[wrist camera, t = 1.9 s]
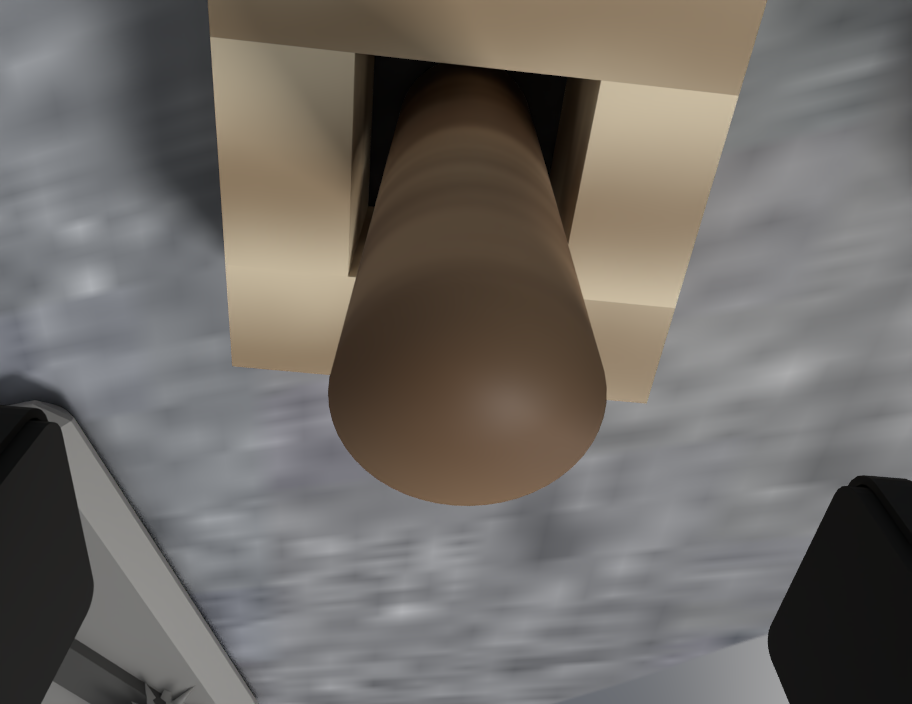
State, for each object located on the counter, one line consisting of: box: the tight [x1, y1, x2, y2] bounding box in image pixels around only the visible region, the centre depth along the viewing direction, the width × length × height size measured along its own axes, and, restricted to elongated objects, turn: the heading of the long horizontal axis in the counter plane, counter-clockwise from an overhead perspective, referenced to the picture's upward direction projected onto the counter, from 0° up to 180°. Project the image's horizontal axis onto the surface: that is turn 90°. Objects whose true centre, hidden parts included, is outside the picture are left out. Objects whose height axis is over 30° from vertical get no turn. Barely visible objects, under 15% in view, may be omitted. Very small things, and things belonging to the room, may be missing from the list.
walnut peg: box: [328, 63, 607, 506], centre depth 17 cm, size 4×4×14 cm
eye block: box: [208, 0, 767, 403], centre depth 20 cm, size 12×12×5 cm
